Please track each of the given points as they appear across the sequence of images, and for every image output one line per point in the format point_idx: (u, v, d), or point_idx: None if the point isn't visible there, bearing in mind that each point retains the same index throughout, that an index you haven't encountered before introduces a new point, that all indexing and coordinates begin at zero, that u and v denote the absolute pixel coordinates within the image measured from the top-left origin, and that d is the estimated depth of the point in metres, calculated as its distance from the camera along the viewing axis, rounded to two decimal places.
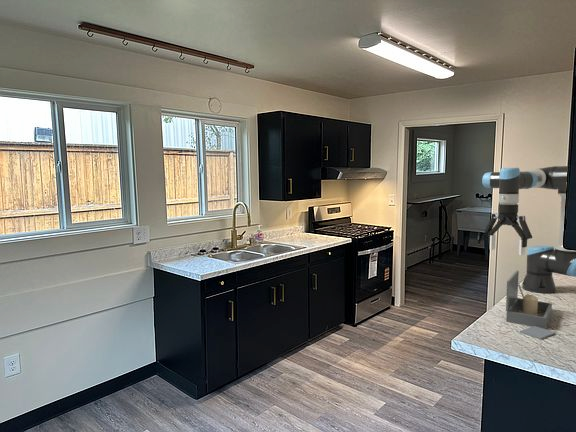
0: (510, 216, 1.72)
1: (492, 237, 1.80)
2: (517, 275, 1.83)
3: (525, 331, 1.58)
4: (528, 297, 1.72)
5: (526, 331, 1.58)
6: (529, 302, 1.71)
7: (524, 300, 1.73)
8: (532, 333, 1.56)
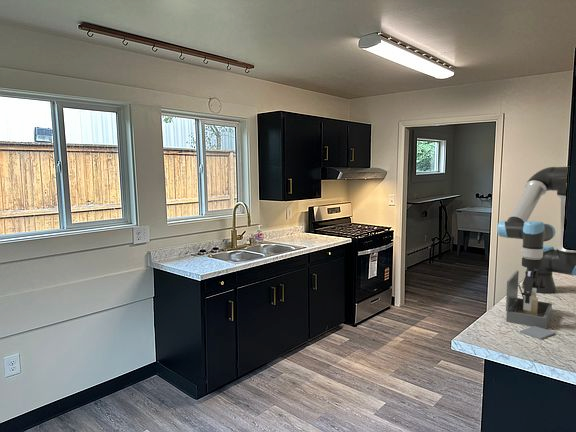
0: None
1: None
2: (517, 275, 1.83)
3: (525, 331, 1.58)
4: None
5: (526, 331, 1.58)
6: None
7: None
8: (532, 333, 1.56)
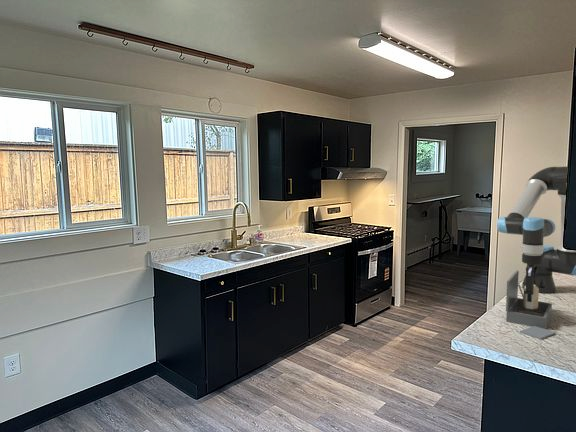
0: (528, 265, 1.70)
1: None
2: (517, 275, 1.83)
3: (525, 331, 1.58)
4: None
5: (526, 331, 1.58)
6: None
7: (525, 290, 1.72)
8: (532, 333, 1.56)
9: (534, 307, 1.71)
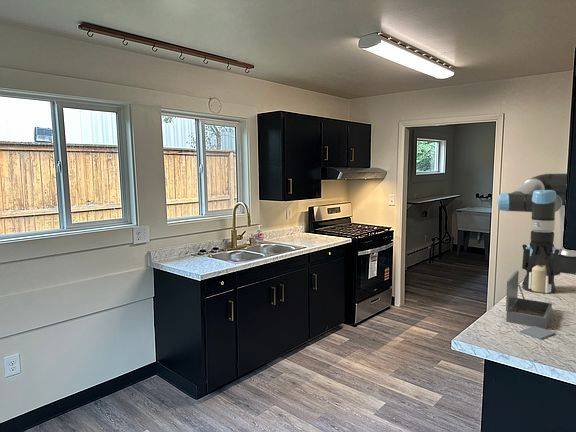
0: (545, 244, 1.51)
1: (531, 274, 1.57)
2: (517, 275, 1.83)
3: (525, 331, 1.58)
4: (544, 268, 1.52)
5: (526, 331, 1.58)
6: None
7: (542, 272, 1.52)
8: (532, 333, 1.56)
9: None
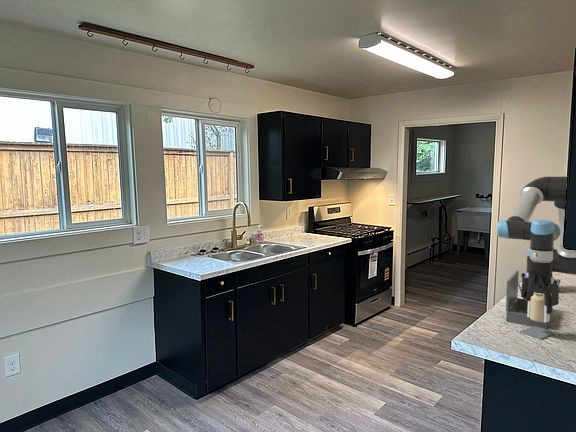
0: (544, 274, 1.52)
1: (530, 303, 1.58)
2: (517, 275, 1.83)
3: (525, 331, 1.58)
4: (543, 297, 1.54)
5: (526, 331, 1.58)
6: None
7: (541, 302, 1.53)
8: (532, 333, 1.56)
9: None
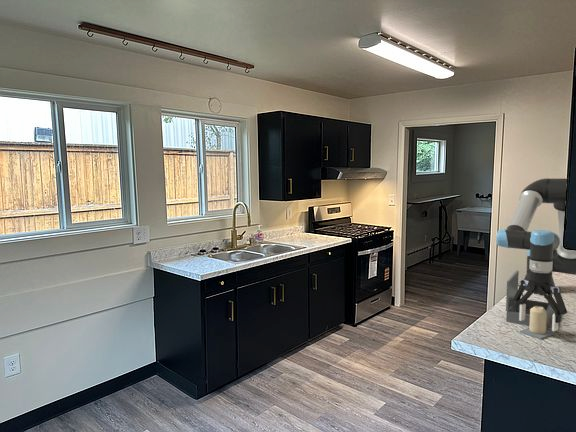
0: (543, 285, 1.53)
1: (522, 307, 1.61)
2: (517, 275, 1.83)
3: (525, 331, 1.58)
4: (542, 310, 1.54)
5: (526, 331, 1.58)
6: (545, 315, 1.54)
7: (540, 314, 1.54)
8: (532, 333, 1.56)
9: None
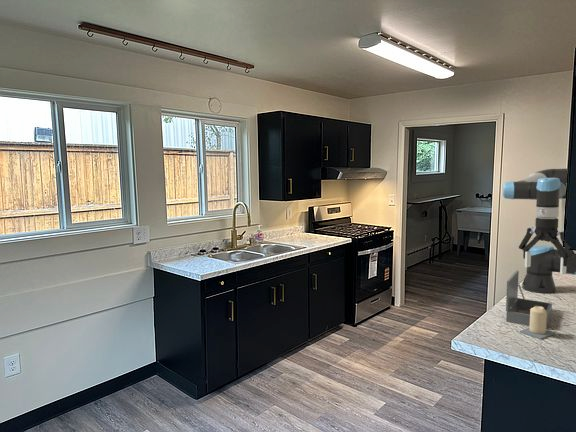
0: (549, 231, 1.55)
1: (528, 253, 1.64)
2: (517, 275, 1.83)
3: (525, 331, 1.58)
4: (542, 310, 1.54)
5: (526, 331, 1.58)
6: (546, 315, 1.54)
7: (540, 314, 1.54)
8: (532, 333, 1.56)
9: None
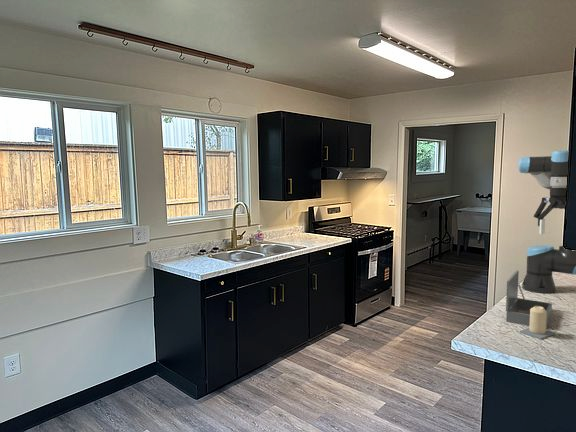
0: (563, 199, 1.70)
1: (542, 221, 1.79)
2: (517, 275, 1.83)
3: (525, 331, 1.58)
4: (542, 310, 1.54)
5: (526, 331, 1.58)
6: (545, 315, 1.54)
7: (540, 314, 1.54)
8: (532, 333, 1.56)
9: None
